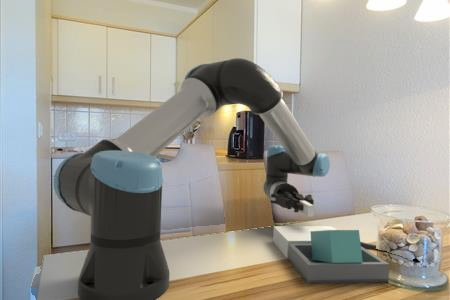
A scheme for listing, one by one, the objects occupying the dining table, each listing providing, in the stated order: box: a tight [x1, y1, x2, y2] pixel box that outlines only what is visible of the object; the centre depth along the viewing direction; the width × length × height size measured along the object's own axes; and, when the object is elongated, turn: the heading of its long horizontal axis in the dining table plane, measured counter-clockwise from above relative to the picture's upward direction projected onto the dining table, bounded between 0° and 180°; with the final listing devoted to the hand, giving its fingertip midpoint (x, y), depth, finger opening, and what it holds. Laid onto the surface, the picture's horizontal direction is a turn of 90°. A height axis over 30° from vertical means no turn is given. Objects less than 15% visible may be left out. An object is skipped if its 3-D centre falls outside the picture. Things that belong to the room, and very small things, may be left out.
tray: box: [287, 244, 390, 285], centre depth 66 cm, size 16×12×4 cm
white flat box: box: [272, 225, 338, 260], centre depth 78 cm, size 16×12×4 cm
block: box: [310, 229, 363, 263], centre depth 66 cm, size 6×6×10 cm
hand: (310, 210), depth 80 cm, fingers closed
